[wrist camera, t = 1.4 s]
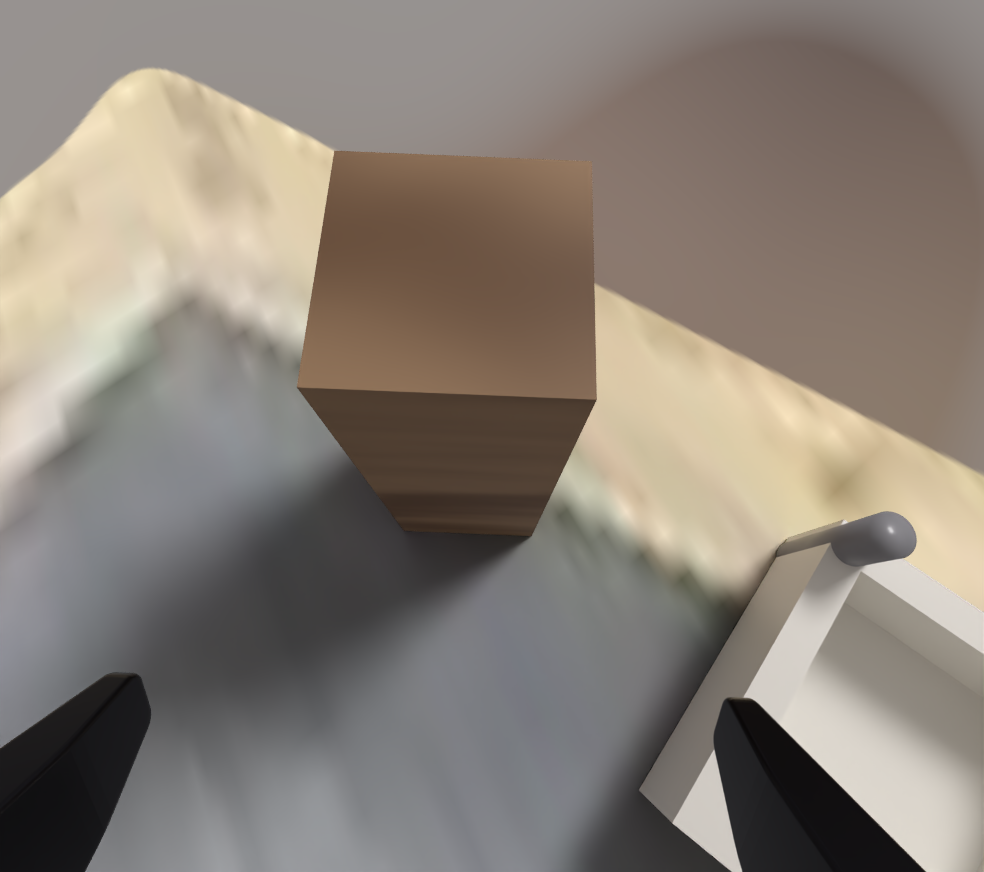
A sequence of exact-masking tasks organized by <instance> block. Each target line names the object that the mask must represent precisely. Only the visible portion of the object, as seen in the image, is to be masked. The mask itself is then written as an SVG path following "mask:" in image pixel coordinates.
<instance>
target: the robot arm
mask: <svg viewBox="0 0 984 872" xmlns="http://www.w3.org/2000/svg"><path fill="white" fill-rule="evenodd" d="M150 719H151V708H150V705H149V701H148V698H147V695H146V692H145V689H144V686H143V682H142V679H141V677H140V676H139V675H137V674H135V673H117V672H116V673H110V674H107V675H105V676H104V677H102V678H101V679H99V680H98V681H96V682H95V683H93V684H92V685H90V686H89V687H88V688H86V689H85V690H83V691H82V692H80V693H79V694H78V695H76V696H75V697H73V698H72V699H70V700H69V701H67V702H66V703H65V704H63V705H62V706H60V707H59V708H57V709H56V710H55V711H53V712H52V713H50V714H49V715H47V716H46V717H44V718H43V719H42V720H40V721H39V722H37V723H36V724H34V725H33V726H32V727H30V728H29V729H27V730H26V731H24V732H23V733H21V734H20V735H19V736H17V737H16V738H14V739H13V740H11V741H10V742H9V743H7V744H6V745H4V746H3V747H1V748H0V872H85V871H86V869H87V867H88V865H89V863H90V861H91V859H92V857H93V855H94V853H95V851H96V849H97V847H98V845H99V843H100V841H101V839H102V837H103V835H104V833H105V831H106V829H107V826H108V824H109V822H110V820H111V817H112V815H113V813H114V810H115V808H116V805H117V803H118V800H119V798H120V795H121V793H122V791H123V788H124V786H125V783H126V781H127V778H128V776H129V773H130V771H131V768H132V766H133V764H134V761H135V759H136V756H137V754H138V751H139V749H140V746H141V744H142V741H143V739H144V737H145V734H146V732H147V729H148V727H149V723H150ZM713 743H714V750H715V755H716V760H717V764H718V769H719V774H720V778H721V783H722V787H723V792H724V797H725V801H726V806H727V811H728V815H729V820H730V825H731V829H732V834H733V839H734V843H735V847H736V851H737V855H738V859H739V862H740V866H741V869H742V872H926V871H925V870H924V869H923V868H922V867H921V866H920V865H919V864H918V863H917V862H916V861H915V860H914V859H913V858H912V857H911V856H910V855H909V854H908V853H907V852H906V851H905V850H904V849H903V848H902V847H901V846H900V845H899V844H898V843H897V842H896V841H895V840H894V839H893V838H892V837H891V836H890V835H889V834H888V833H887V832H886V831H885V830H884V829H883V828H882V827H881V826H880V825H879V824H878V823H877V822H876V821H875V820H874V819H873V818H872V817H871V816H870V815H869V814H868V813H867V812H866V811H865V810H864V809H863V808H862V807H861V806H860V805H859V804H858V803H857V802H856V801H855V800H854V799H853V798H852V797H851V796H850V795H849V794H848V793H847V792H846V791H845V790H844V789H843V788H842V787H841V786H840V785H839V784H838V783H837V782H836V781H835V780H834V779H833V778H832V777H831V776H830V775H829V774H828V773H827V772H826V771H825V770H824V769H823V768H822V767H821V766H820V765H819V764H818V763H817V762H816V761H815V760H814V759H813V758H812V757H811V756H810V755H809V754H808V753H807V752H806V751H805V750H804V749H803V748H802V747H801V746H800V745H799V744H798V743H797V742H796V741H795V740H794V739H793V738H792V737H791V736H790V735H789V734H788V733H787V732H786V731H785V730H784V729H783V728H782V727H781V726H780V725H779V724H778V723H777V722H776V721H775V720H774V718H773V717H772V716H771V715H770V714H769V713H768V712H767V711H766V710H765V709H764V708H763V707H762V706H761V705H760V704H759V703H757V702H756V701H755V700H753V699H751V698H742V697H727V698H726V699H725V700H724V701H723V703H722V706H721V710H720V713H719V716H718V720H717V723H716V726H715V730H714V735H713Z"/></svg>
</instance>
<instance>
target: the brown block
mask: <svg viewBox="0 0 984 872" xmlns="http://www.w3.org/2000/svg"><path fill="white" fill-rule="evenodd" d="M593 249H594V248H593V199H592V162H591V161H590V162H589V161H568V160H544V159H520V158H495V157H471V156H446V155H423V154H399V153H398V154H397V153H375V152H350V151H334V157H333V163H332V170H331V176H330V182H329V189H328V195H327V201H326V207H325V214H324V220H323V226H322V233H321V239H320V245H319V251H318V258H317V264H316V270H315V277H314V283H313V289H312V296H311V302H310V308H309V314H308V321H307V327H306V333H305V340H304V346H303V352H302V358H301V365H300V371H299V377H298V384H297V388H298V389H299V391H300V392H301V393H302V395H303V396H304V398H305V399H306V400H307V402H308V403H309V404H310V406H311V407H312V408H313V410H314V411H315V412H316V414H317V415H318V416H319V418H320V419H321V420H322V422H323V423H324V424H325V426H326V427H327V428H328V430H329V431H330V432H331V434H332V435H333V436H334V438H335V439H336V440H337V442H338V443H339V444H340V446H341V447H342V448H343V450H344V451H345V452H346V454H347V455H348V456H349V458H350V459H351V460H352V462H353V463H354V465H355V466H356V467H357V469H358V470H359V471H360V473H361V474H362V475H363V477H364V478H365V479H366V481H367V482H368V483H369V485H370V486H371V487H372V489H373V490H374V491H375V493H376V494H377V495H378V497H379V498H380V499H381V501H382V502H383V503H384V505H385V506H386V507H387V509H388V510H389V511H390V513H391V514H392V515H393V517H394V518H395V519H396V521H397V522H398V523H399V525H400V526H401V528H402V529H403V530H404V531H419V532H444V533H468V534H492V535H517V536H532V534H533V532H534V530H535V528H536V526H537V524H538V521H539V519H540V517H541V515H542V513H543V511H544V509H545V507H546V505H547V503H548V500H549V498H550V496H551V494H552V492H553V490H554V488H555V486H556V484H557V482H558V480H559V477H560V475H561V473H562V471H563V469H564V467H565V465H566V463H567V461H568V459H569V456H570V454H571V452H572V450H573V448H574V446H575V444H576V442H577V440H578V438H579V436H580V433H581V431H582V429H583V427H584V425H585V423H586V421H587V419H588V417H589V415H590V412H591V410H592V408H593V406H594V404H595V402H596V400H597V394H596V345H595V296H594V250H593Z"/></svg>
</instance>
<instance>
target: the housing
mask: <svg viewBox="0 0 984 872" xmlns="http://www.w3.org/2000/svg"><path fill="white" fill-rule="evenodd" d="M916 541H917V540H916V534H915V531H914V529H913V527H912V525H911V524H910V523H909V521H908V520H907V519H905V518H904V517H903V516H901V515H899V514H897V513H894V512H881V513H877V514H874V515H871V516H868V517H865V518H862V519H858V520H855V521H852V522H849V523H848V522H847V521H845V520H841V521H838V522H835V523H832V524H829V525H826V526H822V527H819V528H816V529H813V530H810V531H807V532H804V533H801V534H798V535H795V536H792V537H789V538H787V540H786V542H785V543H783V544H782V545H781V546H780V547H779V548H778V550H777V553H776V559H775V560H774V562H773V564H772V565H771V567H770V569H769V571H768V572H767V574H766V576H765V577H764V579H763V581H762V582H761V584H760V586H759V587H758V589H757V591H756V593H755V594H754V596H753V598H752V599H751V601H750V603H749V604H748V606H747V608H746V609H745V611H744V613H743V615H742V616H741V618H740V620H739V621H738V623H737V625H736V626H735V628H734V630H733V631H732V633H731V635H730V637H729V638H728V640H727V642H726V643H725V645H724V647H723V648H722V650H721V652H720V653H719V655H718V657H717V659H716V660H715V662H714V664H713V665H712V667H711V669H710V670H709V672H708V674H707V675H706V677H705V679H704V681H703V682H702V684H701V686H700V687H699V689H698V691H697V692H696V694H695V696H694V697H693V699H692V701H691V703H690V704H689V706H688V708H687V709H686V711H685V713H684V714H683V716H682V718H681V719H680V721H679V723H678V725H677V726H676V728H675V730H674V731H673V733H672V735H671V736H670V738H669V740H668V741H667V743H666V745H665V747H664V748H663V750H662V752H661V753H660V755H659V757H658V758H657V760H656V762H655V763H654V765H653V767H652V769H651V770H650V772H649V774H648V775H647V777H646V779H645V780H644V782H643V784H642V785H641V787H640V789H639V791H640V792H641V793H642V794H643V795H644V796H645V797H646V798H647V799H648V800H649V801H650V802H651V803H652V804H653V805H654V806H655V807H656V808H657V809H658V810H659V811H660V812H661V813H662V814H664V815H665V816H666V817H667V818H668V819H669V820H670V821H671V822H672V823H673V824H674V825H675V826H676V827H678V828H679V829H680V830H681V831H683V832H684V833H685V834H686V835H687V836H689V837H690V838H691V839H692V840H694V841H695V842H696V843H697V844H698V845H700V846H701V847H702V848H703V849H705V850H706V851H707V852H708V853H709V854H711V855H712V856H713V857H714V858H716V859H717V860H718V861H719V862H720V863H722V864H723V865H724V866H725V867H727V868H728V869H729V870H730V871H731V872H742V869H741V866H740V862H739V859H738V855H737V851H736V847H735V843H734V839H733V834H732V829H731V825H730V820H729V815H728V811H727V806H726V801H725V797H724V792H723V787H722V783H721V778H720V774H719V769H718V764H717V760H716V755H715V750H714V743H713V735H714V730H715V726H716V723H717V720H718V716H719V713H720V710H721V706H722V703H723V701H724V700H725V699H726V698H727V697H742V698H751V699H753V700H755V701H756V702H757V703H759V704H760V705H761V706H762V707H763V708H764V709H765V710H766V711H767V712H768V713H769V714H770V715H771V716H772V717H773V718H774V720H775V721H776V722H777V723H778V724H779V725H780V726H781V727H782V728H783V729H784V730H785V731H786V732H787V733H788V734H789V735H790V736H791V737H792V738H793V739H794V740H795V741H796V742H797V743H798V744H799V745H800V746H801V747H802V748H803V749H804V750H805V751H806V752H807V753H808V754H809V755H810V756H811V757H812V758H813V759H814V760H815V761H816V762H817V763H818V764H819V765H820V766H821V767H822V768H823V769H824V770H825V771H826V772H827V773H828V774H829V775H830V776H831V777H832V778H833V779H834V780H835V781H836V782H837V783H838V784H839V785H840V786H841V787H842V788H843V789H844V790H845V791H846V792H847V793H848V794H849V795H850V796H851V797H852V798H853V799H854V800H855V801H856V802H857V803H858V804H859V805H860V806H861V807H862V808H863V809H864V810H865V811H866V812H867V813H868V814H869V815H870V816H871V817H872V818H873V819H874V820H875V821H876V822H877V823H878V824H879V825H880V826H881V827H882V828H883V829H884V830H885V831H886V832H887V833H888V834H889V835H890V836H891V837H892V838H893V839H894V840H895V841H896V842H897V843H898V844H899V845H900V846H901V847H902V848H903V849H904V850H905V851H906V852H907V853H908V854H909V855H910V856H911V857H912V858H913V859H914V860H915V861H916V862H917V863H918V864H919V865H920V866H921V867H922V868H923V869H924V870H925V871H926V872H984V612H982V611H981V610H979V609H978V608H976V607H975V606H973V605H972V604H970V603H969V602H967V601H966V600H964V599H963V598H961V597H960V596H958V595H957V594H955V593H954V592H952V591H951V590H949V589H948V588H946V587H945V586H943V585H942V584H940V583H939V582H937V581H936V580H934V579H933V578H931V577H930V576H928V575H927V574H925V573H924V572H922V571H921V570H919V569H918V568H916V567H915V566H913V565H912V564H910V563H909V562H907V561H906V560H904V559H903V558H905V557H907V556H909V555H910V554H911V553H912V552H913V551H914V549H915V547H916Z"/></svg>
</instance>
